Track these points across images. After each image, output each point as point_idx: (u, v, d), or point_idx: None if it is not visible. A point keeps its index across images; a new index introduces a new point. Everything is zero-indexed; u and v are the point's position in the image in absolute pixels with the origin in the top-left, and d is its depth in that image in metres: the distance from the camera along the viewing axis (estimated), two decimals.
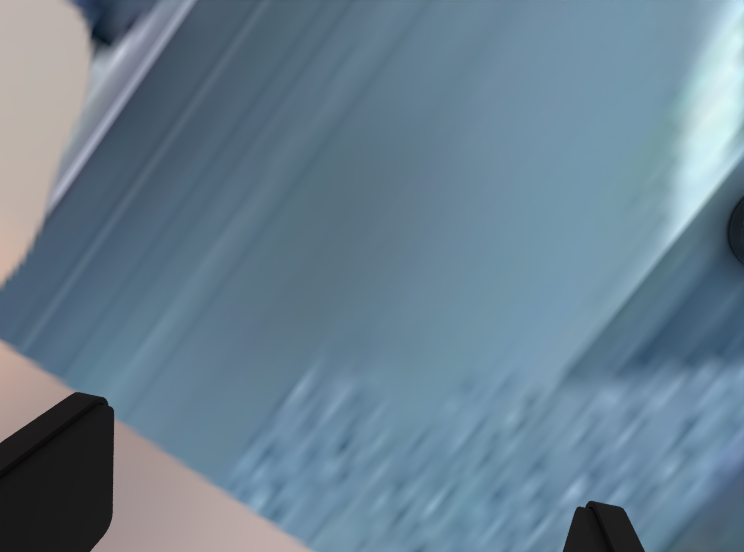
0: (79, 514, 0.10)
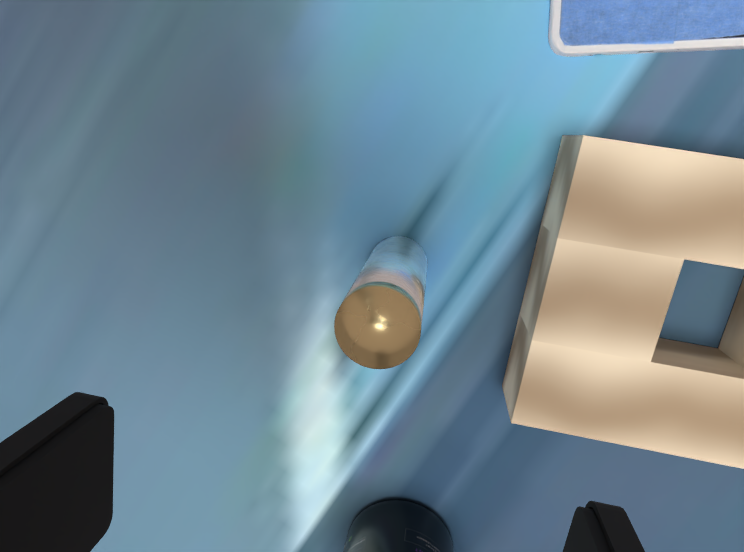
0: (79, 514, 0.10)
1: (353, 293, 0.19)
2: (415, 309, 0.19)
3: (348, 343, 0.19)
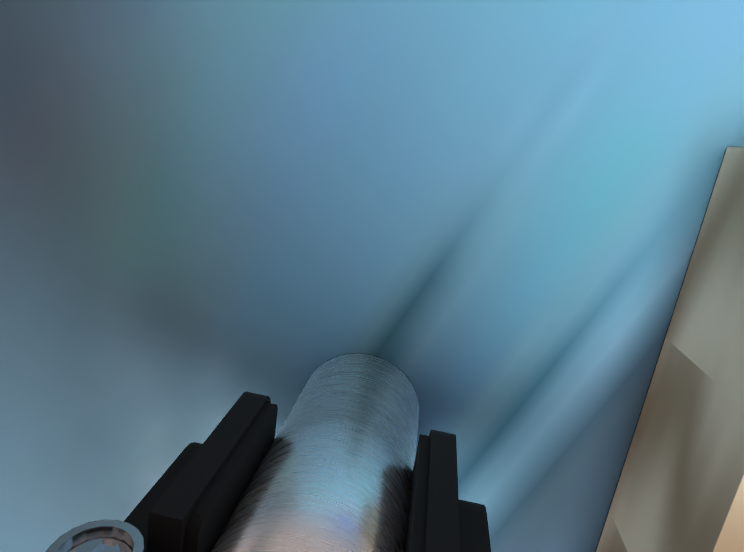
0: None
1: None
2: None
3: None
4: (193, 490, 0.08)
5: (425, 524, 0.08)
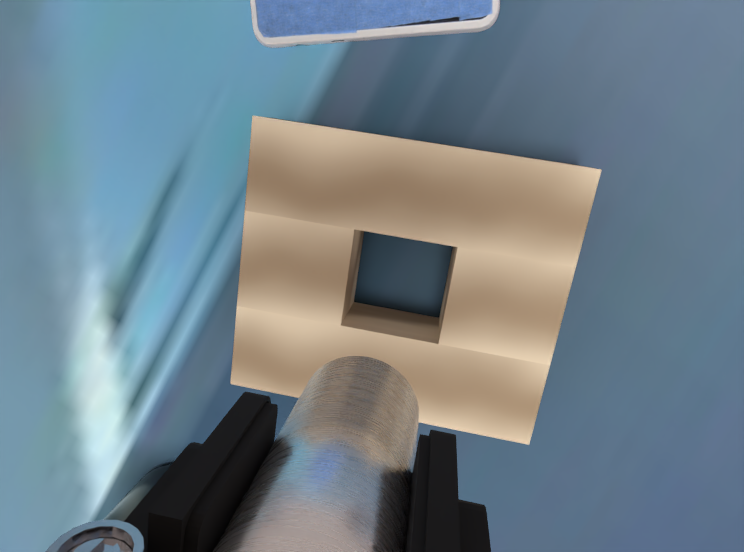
0: None
1: None
2: None
3: None
4: (193, 490, 0.08)
5: (425, 524, 0.08)
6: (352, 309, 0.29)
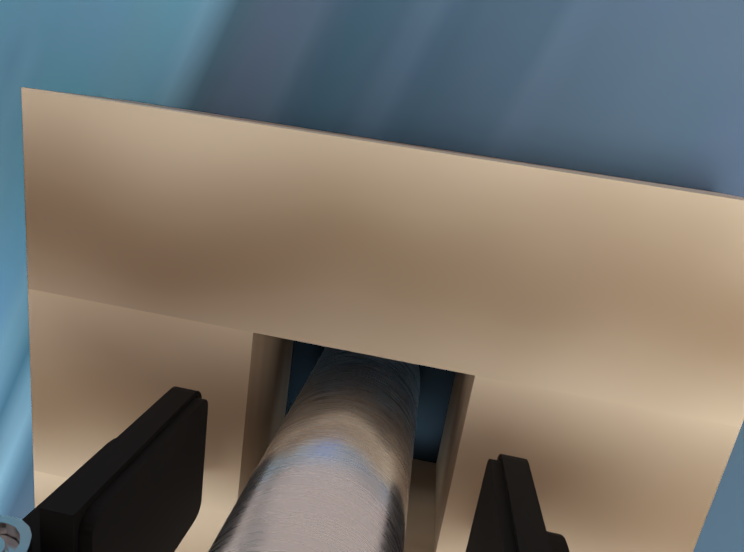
0: (181, 499, 0.10)
1: None
2: None
3: None
4: (93, 486, 0.08)
5: None
6: None
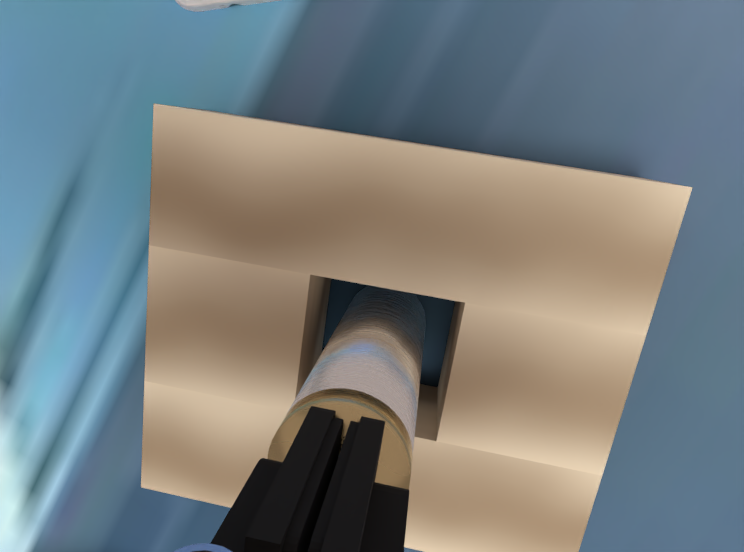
0: None
1: (297, 413, 0.11)
2: (401, 441, 0.11)
3: None
4: (284, 512, 0.08)
5: (333, 505, 0.08)
6: None
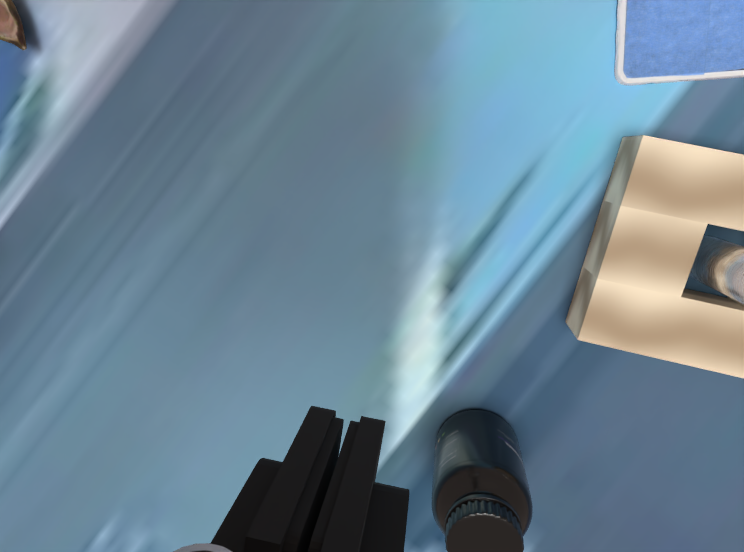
0: None
1: None
2: None
3: None
4: (284, 512, 0.08)
5: (334, 505, 0.08)
6: None
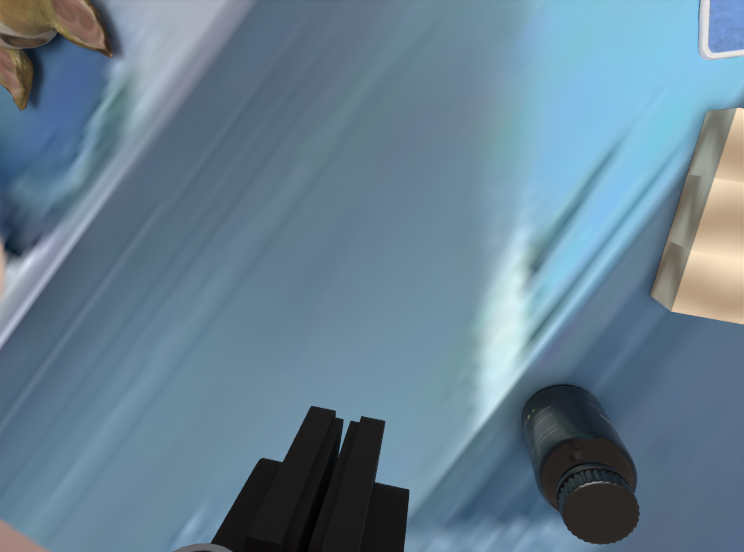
0: None
1: None
2: None
3: None
4: (284, 512, 0.08)
5: (334, 505, 0.08)
6: None
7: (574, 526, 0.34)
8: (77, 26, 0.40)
